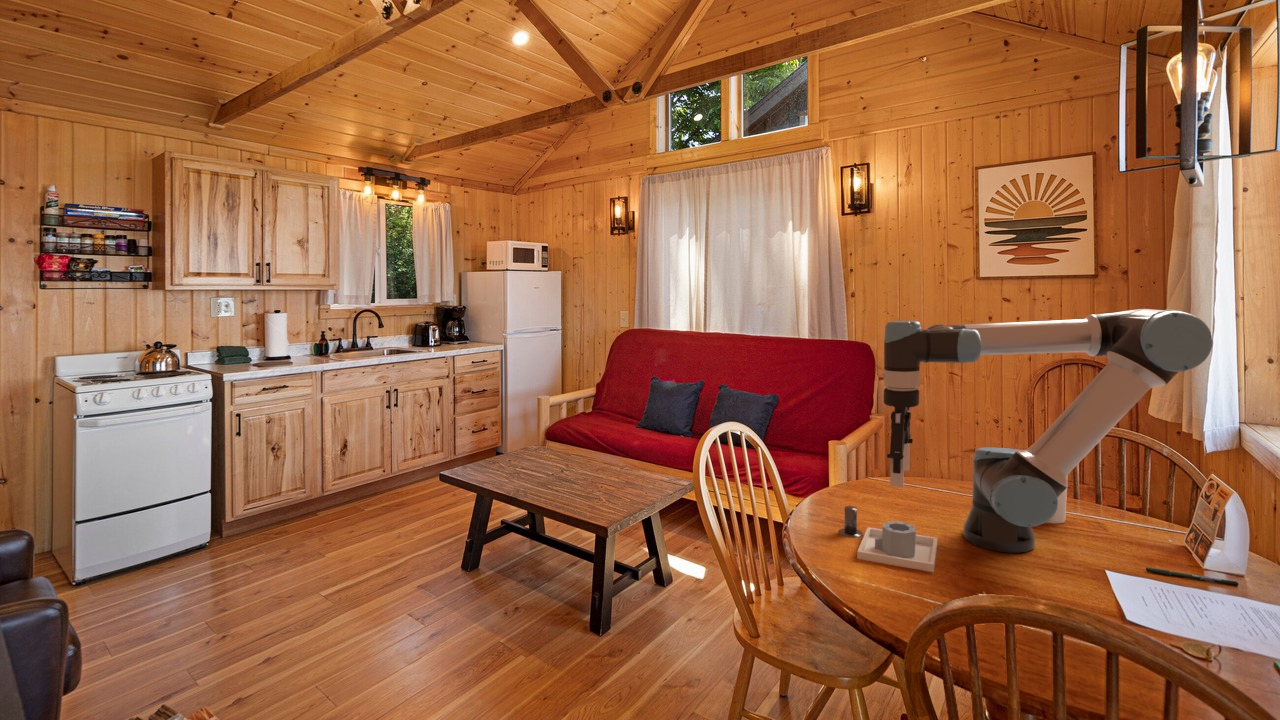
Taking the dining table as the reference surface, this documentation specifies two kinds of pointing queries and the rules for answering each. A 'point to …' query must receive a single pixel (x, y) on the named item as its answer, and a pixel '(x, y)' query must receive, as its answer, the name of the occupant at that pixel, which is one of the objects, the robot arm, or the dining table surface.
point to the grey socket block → (897, 539)
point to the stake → (850, 523)
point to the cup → (1060, 508)
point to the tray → (920, 561)
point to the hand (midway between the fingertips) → (900, 477)
